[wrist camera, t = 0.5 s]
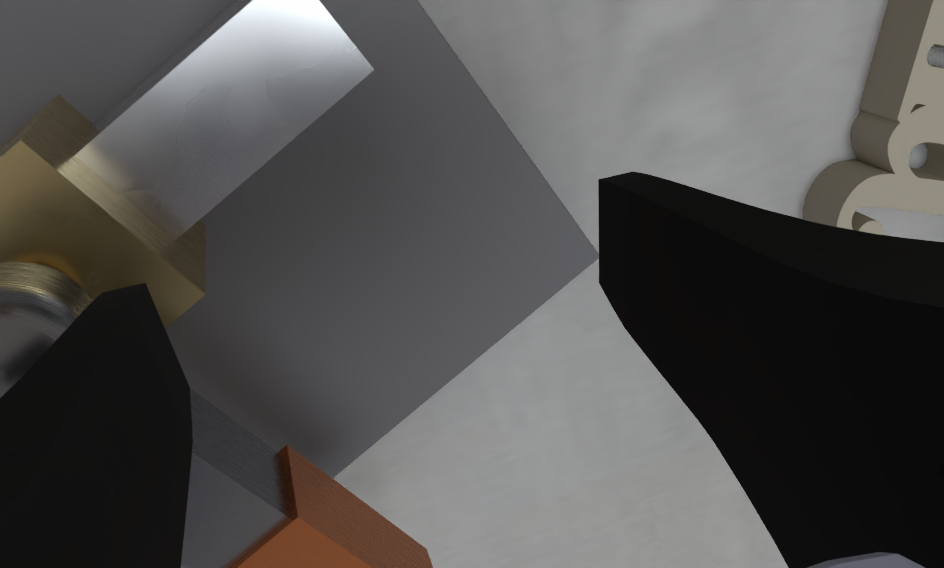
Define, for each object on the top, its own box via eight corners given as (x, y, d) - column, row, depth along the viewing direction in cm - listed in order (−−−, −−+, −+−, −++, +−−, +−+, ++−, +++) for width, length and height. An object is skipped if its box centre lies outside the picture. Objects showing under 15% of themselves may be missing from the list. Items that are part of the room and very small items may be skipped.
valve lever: (-99, 328, 13) (-155, 403, 11) (12, 231, 13) (-24, 289, 11) (358, 611, 19) (375, 691, 17) (434, 550, 19) (460, 622, 17)
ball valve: (-140, 521, 19) (-237, 692, 15) (-329, 433, 17) (-506, 605, 13) (376, 79, 19) (427, 127, 14) (251, -77, 16) (268, -73, 12)
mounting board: (90, 645, 25) (84, 683, 24) (-602, 333, 16) (-673, 369, 15) (579, 238, 24) (600, 256, 23) (152, -352, 15) (147, -378, 14)
